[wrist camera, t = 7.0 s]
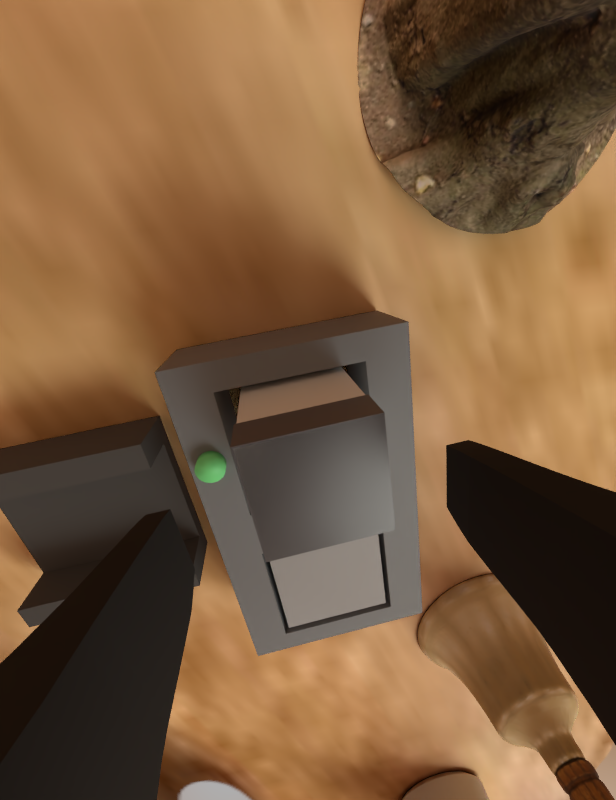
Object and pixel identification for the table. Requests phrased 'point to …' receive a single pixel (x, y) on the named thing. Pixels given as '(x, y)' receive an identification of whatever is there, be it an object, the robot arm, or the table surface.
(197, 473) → the port panel
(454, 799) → the travel mug
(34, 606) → the dark grey bracket
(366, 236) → the table surface
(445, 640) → the hand bell
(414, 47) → the tree stump
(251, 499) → the plug
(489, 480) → the robot arm
